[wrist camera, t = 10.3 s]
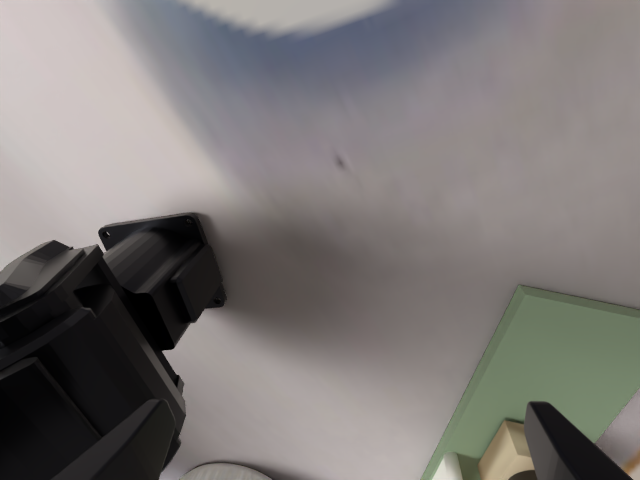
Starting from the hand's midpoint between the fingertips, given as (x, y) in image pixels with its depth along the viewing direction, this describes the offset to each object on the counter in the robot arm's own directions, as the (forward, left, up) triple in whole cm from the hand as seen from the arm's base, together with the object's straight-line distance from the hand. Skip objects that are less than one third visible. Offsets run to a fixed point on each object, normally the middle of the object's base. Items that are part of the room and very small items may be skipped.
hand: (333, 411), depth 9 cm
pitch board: (+9, -17, -13) cm, 24 cm away
